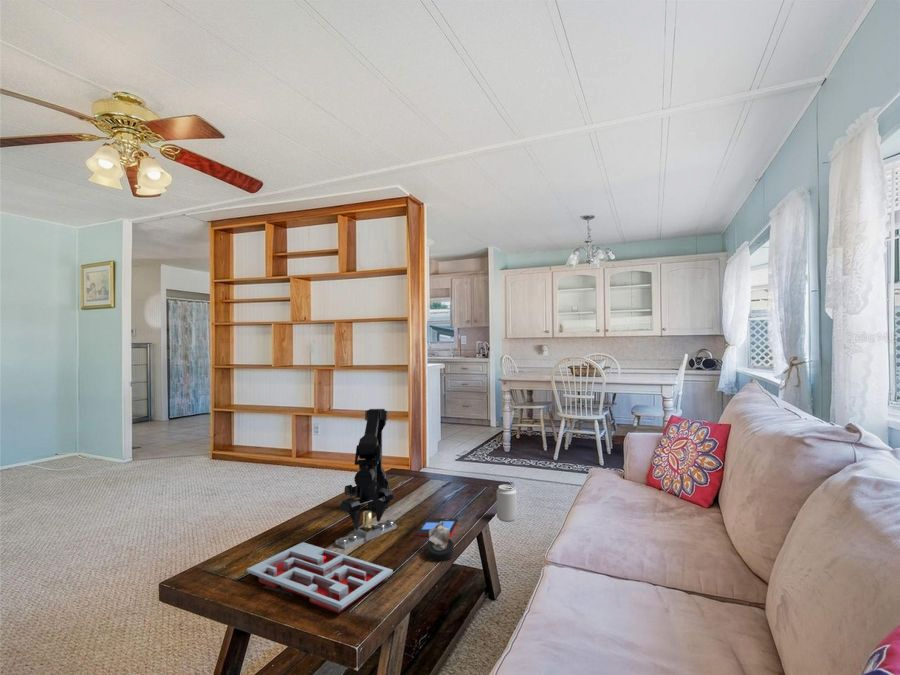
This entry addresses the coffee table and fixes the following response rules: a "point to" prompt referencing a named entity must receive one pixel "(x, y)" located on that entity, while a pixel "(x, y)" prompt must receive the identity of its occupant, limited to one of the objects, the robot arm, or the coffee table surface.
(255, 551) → the coffee table surface
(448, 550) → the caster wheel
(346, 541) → the studded bracket plate
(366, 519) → the link pin
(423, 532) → the game console
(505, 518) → the can
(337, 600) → the maze game
